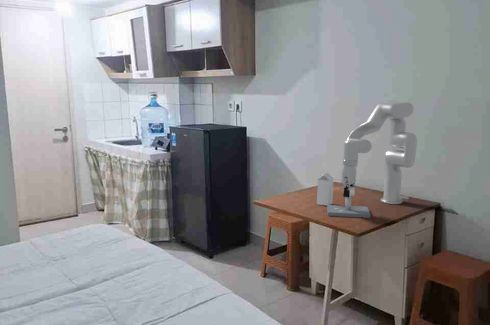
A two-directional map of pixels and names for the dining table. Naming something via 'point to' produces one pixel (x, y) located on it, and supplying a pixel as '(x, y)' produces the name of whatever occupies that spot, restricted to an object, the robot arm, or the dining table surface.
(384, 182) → the robot arm
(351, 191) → the white rounded lump
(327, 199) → the milk carton
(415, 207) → the dining table surface
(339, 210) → the post stand
